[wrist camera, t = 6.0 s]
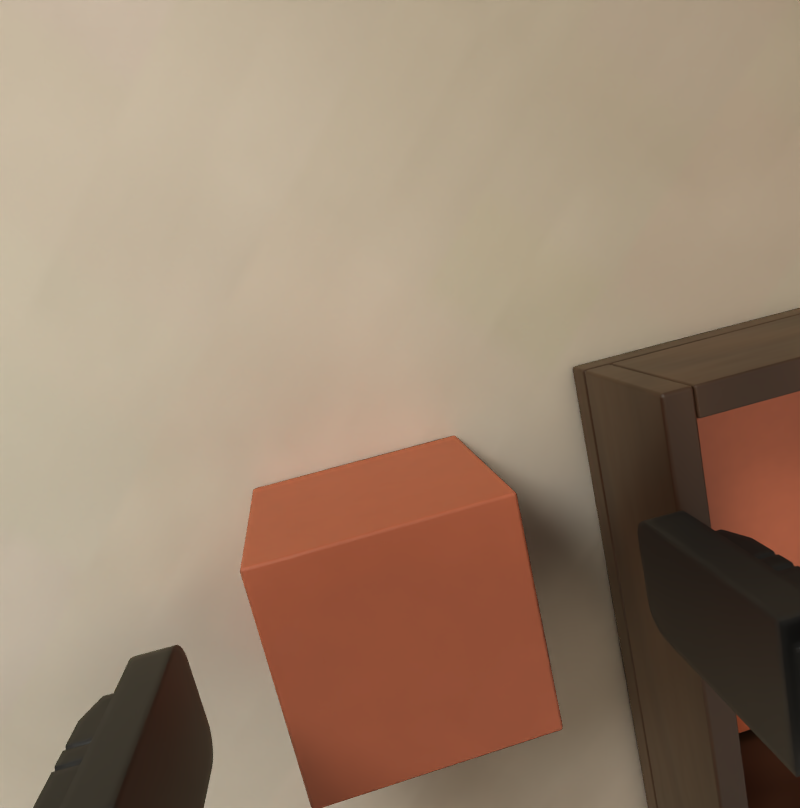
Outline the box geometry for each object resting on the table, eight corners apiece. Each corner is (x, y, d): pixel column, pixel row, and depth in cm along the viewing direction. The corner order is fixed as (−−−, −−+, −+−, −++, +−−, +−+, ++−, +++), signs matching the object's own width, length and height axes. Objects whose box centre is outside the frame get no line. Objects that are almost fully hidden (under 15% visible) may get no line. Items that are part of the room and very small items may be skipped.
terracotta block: (305, 672, 15) (312, 812, 11) (252, 488, 14) (238, 569, 10) (494, 616, 15) (564, 730, 11) (455, 434, 14) (517, 492, 11)
